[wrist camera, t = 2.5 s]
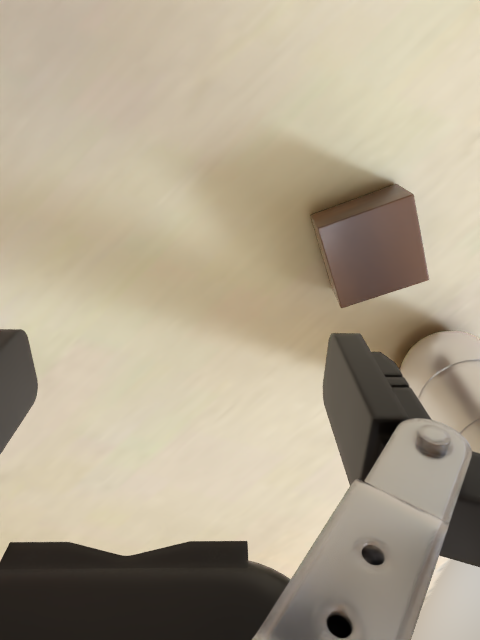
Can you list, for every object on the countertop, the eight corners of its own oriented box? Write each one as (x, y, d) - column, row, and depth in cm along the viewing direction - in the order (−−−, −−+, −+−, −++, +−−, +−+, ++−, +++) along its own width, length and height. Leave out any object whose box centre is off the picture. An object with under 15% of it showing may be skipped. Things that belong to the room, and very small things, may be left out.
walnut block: (396, 183, 26) (413, 193, 24) (412, 262, 29) (429, 280, 26) (309, 214, 27) (317, 228, 25) (332, 289, 30) (341, 308, 27)
